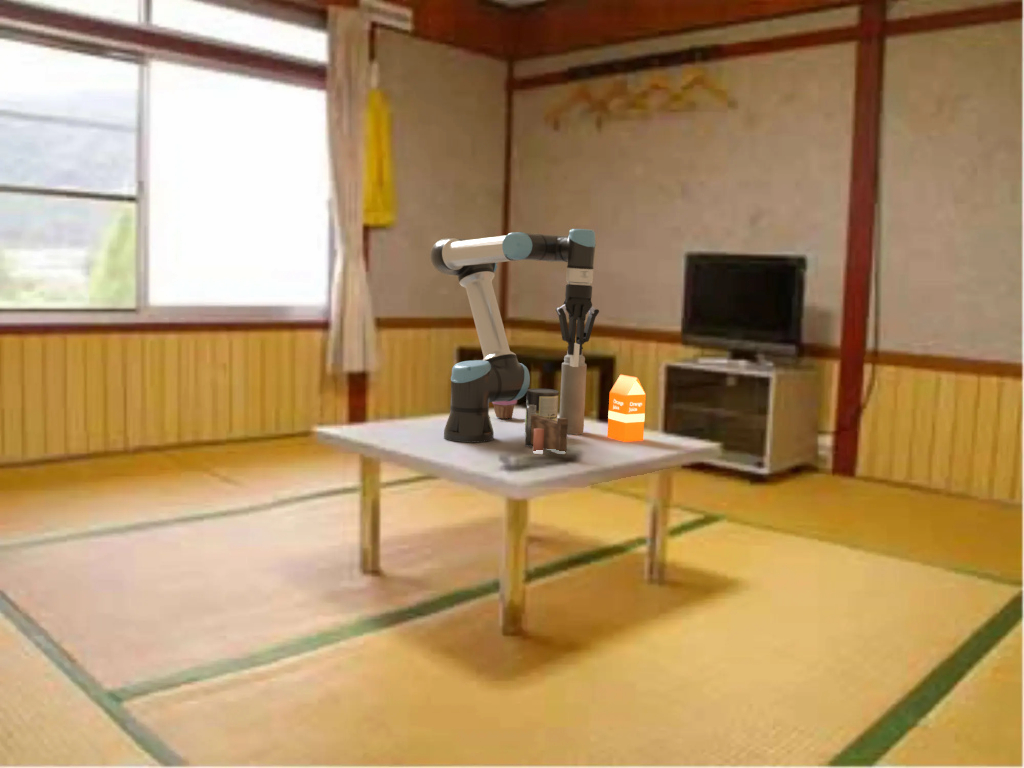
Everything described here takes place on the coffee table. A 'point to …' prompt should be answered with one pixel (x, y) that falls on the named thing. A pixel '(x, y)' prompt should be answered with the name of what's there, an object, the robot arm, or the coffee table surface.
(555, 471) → the coffee table surface
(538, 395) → the coffee can
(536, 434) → the latch post
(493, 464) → the coffee table surface
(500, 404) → the cupcake
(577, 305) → the robot arm
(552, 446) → the gate
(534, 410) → the hinge post
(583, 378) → the thermos bottle
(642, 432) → the orange juice
